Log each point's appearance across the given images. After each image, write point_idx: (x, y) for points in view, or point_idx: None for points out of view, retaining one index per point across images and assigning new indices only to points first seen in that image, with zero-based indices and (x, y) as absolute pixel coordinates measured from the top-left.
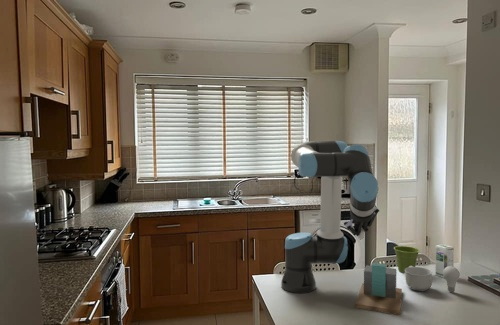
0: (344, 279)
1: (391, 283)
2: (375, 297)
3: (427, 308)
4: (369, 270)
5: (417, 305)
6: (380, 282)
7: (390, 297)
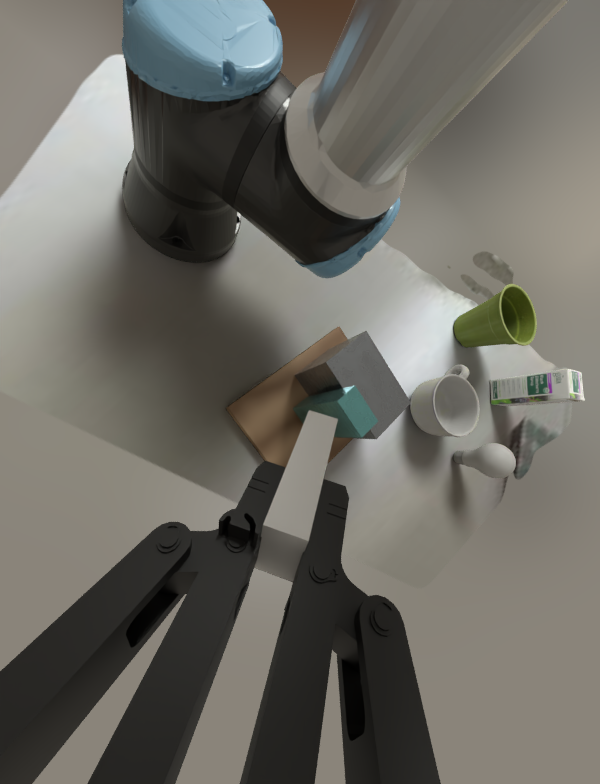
0: None
1: None
2: None
3: (364, 494)
4: (342, 369)
5: (359, 473)
6: None
7: None
